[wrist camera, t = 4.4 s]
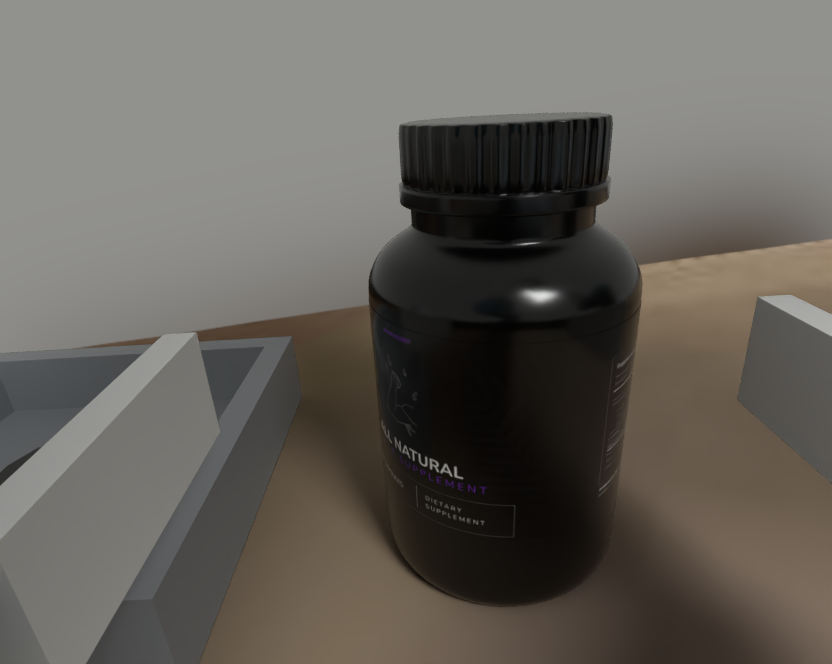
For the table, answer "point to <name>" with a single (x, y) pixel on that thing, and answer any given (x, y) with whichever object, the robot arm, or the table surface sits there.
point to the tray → (204, 498)
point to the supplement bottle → (504, 354)
